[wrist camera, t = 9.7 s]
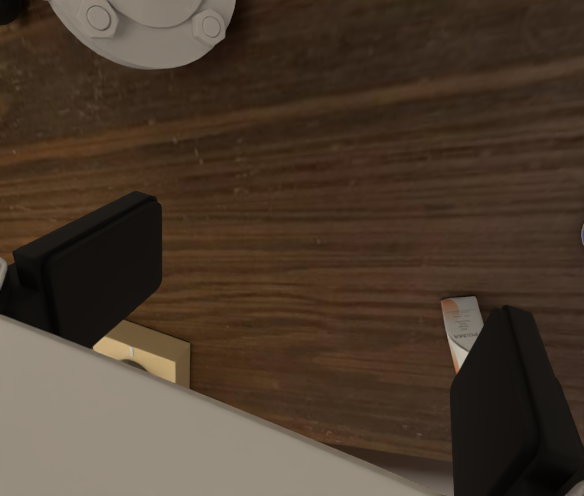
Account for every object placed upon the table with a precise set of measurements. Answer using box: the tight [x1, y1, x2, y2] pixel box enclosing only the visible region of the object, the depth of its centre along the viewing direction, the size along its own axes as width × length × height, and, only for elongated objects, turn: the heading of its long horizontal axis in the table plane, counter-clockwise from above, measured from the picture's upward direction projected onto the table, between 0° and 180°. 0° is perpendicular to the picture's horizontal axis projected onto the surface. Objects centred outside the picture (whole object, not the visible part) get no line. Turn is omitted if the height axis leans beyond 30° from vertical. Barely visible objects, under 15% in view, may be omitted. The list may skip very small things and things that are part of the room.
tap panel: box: [93, 320, 190, 389], centre depth 43 cm, size 10×9×3 cm
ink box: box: [441, 296, 484, 374], centre depth 27 cm, size 3×9×12 cm, turn 20°
